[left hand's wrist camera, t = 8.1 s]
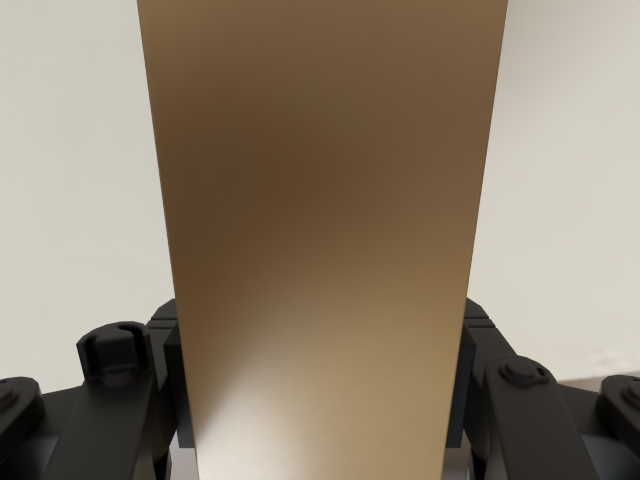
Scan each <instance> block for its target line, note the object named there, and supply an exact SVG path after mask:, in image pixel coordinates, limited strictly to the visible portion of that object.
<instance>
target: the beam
mask: <svg viewBox="0 0 640 480" xmlns="http://www.w3.org/2000/svg"><path fill="white" fill-rule="evenodd" d="M507 4H508V0H137V5H138V13H139V21H140V29H141V36H142V44H143V52H144V60H145V67H146V75H147V83H148V91H149V98H150V106H151V114H152V122H153V129H154V137H155V145H156V153H157V160H158V168H159V176H160V184H161V191H162V199H163V207H164V215H165V222H166V230H167V238H168V246H169V253H170V261H171V269H172V277H173V284H174V292H175V300H176V308H177V315H178V323H179V331H180V339H181V346H182V354H183V362H184V370H185V377H186V385H187V393H188V401H189V408H190V416H191V424H192V432H193V439H194V447H195V455H196V463H197V470H198V478H199V480H441V476H442V469H443V462H444V455H445V447H446V440H447V433H448V426H449V419H450V412H451V404H452V397H453V390H454V383H455V376H456V369H457V361H458V354H459V347H460V340H461V333H462V326H463V319H464V311H465V304H466V297H467V290H468V283H469V276H470V268H471V261H472V254H473V247H474V240H475V233H476V225H477V218H478V211H479V204H480V197H481V190H482V183H483V175H484V168H485V161H486V154H487V147H488V140H489V132H490V125H491V118H492V111H493V104H494V97H495V90H496V82H497V75H498V68H499V61H500V54H501V47H502V39H503V32H504V25H505V18H506V11H507Z"/></svg>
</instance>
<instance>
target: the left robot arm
mask: <svg viewBox="0 0 640 480" xmlns="http://www.w3.org/2000/svg"><path fill="white" fill-rule="evenodd" d="M76 346H77V350H78V354H79V358H80V362H81V366H82V370H83V374H84V378H85V380H84V382H83V384H82V385H81V386H78V387H74V388H70V389H65V390H60V391H56V392H51V393H46V394H41V391H40V387H39V384H38V382H36V381H35V380H34V379H33V378H28V377H13V378H6V379H1V380H0V480H170V476H171V466H172V462H171V455H170V449H169V446H170V443H171V441H172V439H173V436H174V434H175V432H176V430H177V436H178V442H179V448H195V447H194V439H193V432H192V424H191V416H190V408H189V401H188V393H187V385H186V377H185V370H184V362H183V354H182V346H181V339H180V331H179V323H178V315H177V308H176V300H175V299H171V300H170V301H168V302H167V303H165V304H164V305H162V306H161V307H159V308H158V309H157V311H156V312H155V314H154V315H153V316H152V318H151V321H149V322H148V323H147V324H146V326H145V325H144V324H143V323H138V322H134V321H125V322H116V323H111V324H107V325H104V326H102V327H99V328H96V329H94V330H92V331H91V332H89V333H87V334H86V335H84V336H83V337H82V338H81V339H80V340H79V341H78V342H77V344H76ZM463 428H464V430H465V433H466V435H467V437H468V440H469V442H470V444H471V449H470V455H469V461H468V467H467V472H466V478H465V480H640V378H638V377H634V376H626V375H613V376H608V377H606V378H605V379H604V380H603V381H602V382H601V386H600V389H599V392H593V391H588V390H583V389H578V388H574V387H569V386H565V385H561V384H557V381H556V379H555V378H554V376H553V375H552V374H551V372H550V371H549V370H548V369H546V368H545V367H544V366H542V365H541V364H540V363H538V362H536V361H534V360H531V359H529V358H527V357H523V356H519V355H517V354H516V353H515V351H514V350H513V349H512V347H511V346H510V345H509V343H508V342H507V341H506V339H505V338H504V337H503V335H502V334H501V333H500V331H499V330H498V329H497V328H496V326H495V324H494V323H493V322H492V320H491V319H489V316H488V315H487V314H486V312H485V311H484V310H483V308H482V307H481V306H480V305H478V304H477V303H475V302H473V301H472V300H470V299H469V298H467V297H466V304H465V311H464V319H463V326H462V333H461V340H460V347H459V354H458V361H457V369H456V376H455V383H454V390H453V397H452V404H451V412H450V419H449V426H448V433H447V440H446V447H445V448H460V447H461V440H462V434H463Z"/></svg>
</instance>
